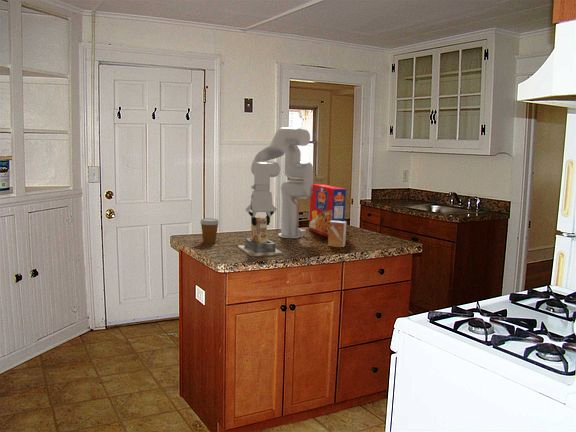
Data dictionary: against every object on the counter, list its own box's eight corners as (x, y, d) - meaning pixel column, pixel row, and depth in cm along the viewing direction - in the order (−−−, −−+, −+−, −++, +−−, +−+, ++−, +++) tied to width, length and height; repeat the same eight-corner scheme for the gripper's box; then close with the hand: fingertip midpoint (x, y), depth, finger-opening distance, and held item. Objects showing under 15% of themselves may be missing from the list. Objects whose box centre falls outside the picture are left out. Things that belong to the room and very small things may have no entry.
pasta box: (309, 229, 335) (311, 184, 331) (320, 229, 338) (322, 184, 334) (331, 238, 310) (333, 189, 306) (343, 237, 313) (346, 189, 309)
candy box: (267, 249, 266) (267, 218, 264) (260, 250, 264) (259, 218, 262) (258, 246, 274) (258, 216, 272) (251, 247, 271) (250, 216, 269)
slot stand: (268, 246, 281) (268, 236, 280) (282, 254, 263) (282, 244, 262) (238, 247, 275) (238, 237, 274) (250, 256, 257) (250, 245, 256)
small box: (327, 246, 287) (328, 221, 285) (330, 244, 293) (331, 220, 291) (342, 247, 285) (344, 223, 283) (345, 245, 291) (346, 221, 289)
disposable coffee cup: (196, 242, 285) (196, 219, 283) (210, 240, 291) (211, 217, 290) (207, 245, 278) (208, 221, 276) (222, 242, 285) (222, 220, 283)
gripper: (246, 189, 258) (245, 226, 260) (281, 189, 264) (280, 225, 267) (242, 187, 265) (241, 224, 267) (275, 187, 271) (274, 223, 274)
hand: (260, 224), depth 267 cm, fingers open, 6 cm apart
